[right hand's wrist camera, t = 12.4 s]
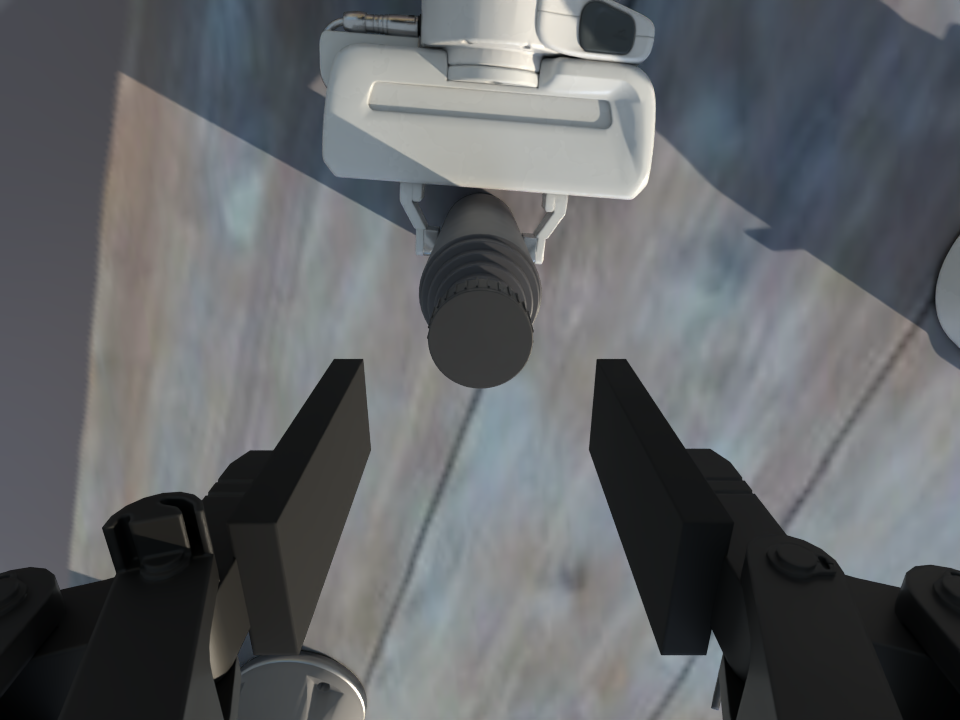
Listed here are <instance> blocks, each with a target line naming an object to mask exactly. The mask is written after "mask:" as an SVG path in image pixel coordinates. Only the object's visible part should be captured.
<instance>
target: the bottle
mask: <svg viewBox="0 0 960 720" xmlns="http://www.w3.org/2000/svg"><path fill="white" fill-rule="evenodd" d="M476 278H478V279H484V280H487V278H489V279H490V280H491V281H495V282H498V281H500V283H501V284H503V285H505V286H507V287H508V286H510V289H511V290H512V291H513V292H515V293H518V295H519V298H520V299H521V301H522V302H523V301H524V302H525V305H526V309H527V311H529V314H530V317H531V321H532V322H531V323H532V325H533V323H534V321H535V319H536V317H537V314H538V312H539V308H540V304H541V297H542V292H541V282H540V278H539V275H538V272H537V269H536V267H535V265H534V263H533V260H532V258H531V256H530V253H529V251H528V249H527V247H526V244H525V242H524V240H523V237H522V235H521V233H520V231H519V228H518V226H517V224H516V221H515V219H514V217H513V215H512V212H511V211H510V209H509V208H508V207H507V205H506V204H505V203H504V202H503V201H501V200H500V199H498V198H496V197H495V196H492V195H489V194H483V193H477V194H471V195H468V196H465V197H464V198H462V199H460V200H459V201H457V202H456V203H455V204H454V205H453V207H452V208H451V209H450V211H449V212H448V215H447V217H446V219H445V221H444V224H443V226H442V229H441V231H440V233H439V236H438V238H437V240H436V243H435V245H434V247H433V250H432V252H431V254H430V257H429V259H428V261H427V264H426V266H425V268H424V271H423V273H422V277H421V280H420V286H419V300H420V306H421V310H422V313H423V315H424V318H425V320H426V322H427V324H428V325H429V321H430V318H431V315H432V312H433V308H434V307H436V306H437V303H438V299H439V298H442V297H443V295H444V294H445V292H446V290H448V291H449V290H450V289H451V288H453V287H454V286H455V284H457V285H458V284H460V283H463V282H465V280H467V281H470V280H476Z"/></svg>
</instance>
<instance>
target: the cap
mask: <svg viewBox="0 0 960 720" xmlns="http://www.w3.org/2000/svg"><path fill="white" fill-rule="evenodd" d="M531 322H532V321H531V317H530V314H529V311H527V309H526V305H525V302H524V301H523V302H522V301H521V299H520V298H519V295H518V293H515V292H513V291H512V290H511V289H510V286H508V287H507V286H505V285H503V284H501V283H500V281H498V282H495V281H491V280H490V279H489V278H487V280H484V279H478V278H476V280H470V281H467V280H465V282H463V283H460V284H458V285H457V284H455V286H454V287H453V288H451V289H450V290H449V291H448V290H446V292H445V294H444V295H443V297H442V298H439V299H438V303H437V306H436V307H434V308H433V312H432V315H431V318H430V321H429V325H428V328H429V332H428V336H427V339H428V345H429V350H430V354H431V356H432V359H433V361H434V363H435V364H436V366H437V367H438V369H439V370H440V371H441V372H442V373H443V374H444V375H445V376H446V377H448V378H449V379H450V380H452V381H454V382H456V383H458V384H460V385H463V386H466V387H471V388H490V387H495V386H498V385H501V384H503V383H505V382H507V381H509V380H511V379H512V378H513V377H515V376H516V375H517V374H518V373H519V372H520V371H521V370H522V369H523V367H524V366H525V364H526V363H527V361H528V359H529V357H530V354H531V350H532V345H533V332H534V331H533V327H532V323H531Z"/></svg>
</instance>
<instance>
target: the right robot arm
mask: <svg viewBox="0 0 960 720" xmlns="http://www.w3.org/2000/svg"><path fill="white" fill-rule="evenodd" d="M370 451H371V444H370V433H369V421H368V409H367V398H366V386H365V374H364V363H363V359H334V360H333V361H332V363H331V364H330V366H329V368H328V369H327V371H326V372H325V374H324V375H323V377H322V378H321V380H320V381H319V383H318V384H317V386H316V387H315V389H314V390H313V392H312V393H311V395H310V396H309V398H308V399H307V401H306V402H305V404H304V405H303V407H302V408H301V410H300V411H299V413H298V414H297V416H296V417H295V419H294V420H293V422H292V423H291V425H290V426H289V428H288V429H287V431H286V432H285V434H284V435H283V437H282V438H281V440H280V441H279V443H278V444H277V446H276V447H275V449H274V450H250V451H249V452H247V453H246V454H244V455H243V456H241V457H240V458H238V459H237V460H235V461H234V462H232V463H231V464H230V465H229V466H228V467H227V469H226V470H225V471H224V473H223V474H222V475H221V476H220V478H219V479H218V482H216V483H215V484H214V486H213V487H212V488H211V489H210V491H209V492H208V496H205V497H204V498H203V500H201V499H199V498H198V497H197V496H195V495H194V494H189V493H184V492H171V493H161V494H157V495H153V496H149V497H146V498H143V499H141V500H138V501H136V502H134V503H132V504H129V505H127V506H125V507H124V508H122V509H121V510H120V511H118V512H117V513H115V514H114V515H112V516H111V517H110V518H109V520H108V521H107V522H106V523H105V525H104V526H103V527H102V529H103V533H104V536H105V539H106V542H107V545H108V548H109V552H110V555H111V558H112V561H113V564H114V567H115V570H116V575H115V577H114V578H110V579H107V580H103V581H98V582H94V583H89V584H85V585H80V586H76V587H71V588H67V589H62V590H60V588H59V586H58V583H57V580H56V578H55V575H54V574H52V573H51V572H50V571H48V570H47V569H44V568H34V567H28V568H22V569H16V570H10V571H7V572H4V573H0V720H364V718H365V713H366V707H367V699H366V694H365V691H364V688H363V686H362V685H361V683H360V681H359V680H358V679H357V678H356V676H355V675H354V674H353V673H352V672H351V671H350V670H348V669H347V668H346V667H344V666H343V665H341V664H340V663H338V662H336V661H334V660H332V659H330V658H328V657H325V656H322V655H319V654H316V653H311V652H306V651H301V648H302V645H303V642H304V639H305V636H306V633H307V631H308V628H309V625H310V622H311V619H312V616H313V614H314V611H315V608H316V605H317V602H318V599H319V596H320V594H321V591H322V588H323V585H324V582H325V579H326V576H327V574H328V571H329V568H330V565H331V562H332V559H333V557H334V554H335V551H336V548H337V545H338V542H339V539H340V537H341V534H342V531H343V528H344V525H345V522H346V519H347V517H348V514H349V511H350V508H351V505H352V502H353V500H354V497H355V494H356V491H357V488H358V485H359V482H360V480H361V477H362V474H363V471H364V468H365V465H366V463H367V460H368V457H369V454H370ZM589 451H590V454H591V457H592V460H593V463H594V465H595V468H596V471H597V474H598V477H599V480H600V482H601V485H602V488H603V491H604V494H605V497H606V500H607V502H608V505H609V508H610V511H611V514H612V517H613V520H614V522H615V525H616V528H617V531H618V534H619V537H620V539H621V542H622V545H623V548H624V551H625V554H626V557H627V559H628V562H629V565H630V568H631V571H632V574H633V576H634V579H635V582H636V585H637V588H638V591H639V594H640V596H641V599H642V602H643V605H644V608H645V611H646V614H647V616H648V619H649V622H650V625H651V628H652V631H653V633H654V636H655V639H656V642H657V645H658V648H659V651H660V653H661V655H706V654H707V649H708V644H709V640H710V635H711V630H713V633H714V635H715V637H716V639H717V641H718V643H719V645H720V647H721V649H722V652H723V656H722V660H721V665H720V669H719V673H718V678H717V682H716V687H715V691H714V695H713V701H712V707H711V708H712V709H716V710H719V706H720V702H721V705H722V716H723V720H960V571H959V570H955V569H952V568H947V567H941V566H935V565H924V566H915V567H914V568H912V569H911V570H909V571H908V572H907V573H906V575H905V578H904V580H903V583H902V586H901V588H900V587H895V586H890V585H886V584H881V583H877V582H872V581H868V580H863V579H858V578H854V577H851V576H847V575H845V574H844V572H843V571H842V569H841V568H840V566H839V565H838V563H837V562H836V560H834V559H833V558H832V557H831V556H829V555H828V554H827V553H826V552H824V551H823V550H822V549H820V548H818V547H816V546H814V545H812V544H810V543H808V542H806V541H804V540H801V539H798V538H794V537H791V536H787V535H786V534H785V532H784V531H783V530H782V528H781V527H780V526H779V524H778V523H777V522H776V521H775V519H774V518H773V517H772V515H771V514H770V513H769V512H768V510H767V509H766V508H765V506H764V505H763V504H762V503H761V501H760V500H759V499H758V497H757V496H756V495H755V494H752V490H751V488H750V487H749V486H748V484H747V483H746V482H745V481H742V477H741V475H740V474H739V473H738V472H737V470H736V469H735V468H734V466H733V465H732V464H731V463H730V462H729V461H728V460H726V459H725V458H723V457H722V456H720V455H719V454H717V453H716V452H714V451H713V450H711V449H685V447H684V446H683V444H682V443H681V441H680V440H679V438H678V437H677V435H676V434H675V432H674V431H673V429H672V428H671V426H670V425H669V423H668V422H667V420H666V419H665V417H664V416H663V414H662V413H661V411H660V410H659V408H658V407H657V405H656V404H655V402H654V401H653V399H652V398H651V396H650V395H649V393H648V392H647V390H646V389H645V387H644V386H643V384H642V383H641V381H640V380H639V378H638V377H637V375H636V374H635V372H634V371H633V369H632V368H631V366H630V365H629V363H628V361H627V360H626V359H597V363H596V374H595V386H594V398H593V409H592V421H591V433H590V444H589ZM248 631H249V635H250V640H251V644H252V649H253V654H254V655H261V656H258V657H256V658H254V659H252V660H250V661H249V662H248V663H246V664H245V665H244V666H243V667H242V668H241V669H240V665H239V660H238V656H237V654H238V652H239V650H240V648H241V646H242V644H243V642H244V640H245V637H246V635H247V633H248Z"/></svg>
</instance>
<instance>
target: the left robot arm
mask: <svg viewBox="0 0 960 720" xmlns="http://www.w3.org/2000/svg"><path fill="white" fill-rule="evenodd" d="M421 11H422V14H420V16H414V15H398V14H389V15H388V14H386V15H374V14H367V12H362V11H348V12H344V14H343V18H339V19H335V20H334V21H332V22H330V23H329V24H328V25H327V26H326V27H325V29H324V30H323V32H322V34H321V37H320V42H319V61H320V74H321V78H322V80H323V83H324V84H325V86H326V88H327V91H326V98H325V107H324V118H323V134H322V156H323V160H324V162H325V164H326V165H327V167H328V168H329V169H330V171H331V172H332V173H333V174H334V175H335V176H337V177H344V178H357V179H370V180H383V181H395V182H400V202H401V204H402V206H403V208H404V210H405V212H406V214H407V216H408V218H409V219H410V221H411V223H412V225H413V227H414V228H415V229H416V255H421V256H423V255H424V256H430V254H431V252H432V250H433V247H434V245H435V243H436V240H437V238H438V236H439V233H440V227H437V226H428V223H427V221H426V219H425V217H424V215H423V213H422V211H421V209H420V207H419V205H418V203H417V202H420V201H421V200H422V199H423V198H424V195H425V184H434V185H447V186H460V187H472V188H485V189H498V190H511V191H524V192H537V193H543V196H542V207H543V209H544V210H545V211H546V212H547V214H546V215H545V217H544V218H543V220H542V221H541V223H540V224H539V226H538V227H537V228H536V230H535V231H534V234H531V233H522V237H523V240H524V242H525V244H526V247H527V249H528V251H529V253H530V256H531V258H532V260H533V263H534V264H542V262H543V256H544V247H545V239H548V237H549V236H550V234H551V233H552V232H553V230H554V229H555V228H556V226H557V225H558V224H559V222H560V221H561V220H562V218H563V217H564V215H565V214H566V208H567V201H568V195H575V196H588V197H601V198H614V199H627V200H631V199H633V198H635V197H636V196H637V195H638V194H639V193H640V192H641V191H642V190H643V189H644V188H645V186H646V185H647V183H648V179H649V174H650V169H651V162H652V154H653V145H654V134H655V114H656V101H655V93H654V88H653V85H652V82H651V80H650V79H649V77H648V76H647V74H646V73H645V72H644V71H643V70H641V69H640V68H638V67H636V66H637V65H639V64H641V63H642V62H643V61H644V60H645V59H646V58H647V57H648V56H649V54H650V52H651V50H652V47H653V42H654V37H655V27H654V24H653V22H652V21H651V20H650V19H649V18H647V17H646V16H644V15H642V14H640V13H638V12H636V11H634V10H632V9H630V8H628V7H626V6H623V5H621V4H619V3H617V2H615V1H613V0H422V4H421ZM341 26H344V29H345V31H348V32H342V31H333V30H335V29H336V28H338V27H341ZM368 33H376V34H368ZM379 33H380V34H382V35H378V34H379ZM419 35H420V37H421V39H420V40H419ZM420 46H421V48H419V47H420ZM935 304H936V311H937V316H938V319H939V322H940V324H941V326H942V328H943V330H944V332H945V333H946V334H947V336H948V337H949V338H950V339H951V340H952V341H953V342H954V343H955V344H956V345H957V346H958V347H959V348H960V235H959V237H958V238H957V239H956V241H955V242H954V244H953V245H952V247H951V249H950V251H949V252H948V254H947V256H946V258H945V260H944V263H943V265H942V267H941V270H940V273H939V277H938V281H937V286H936V295H935Z"/></svg>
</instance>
